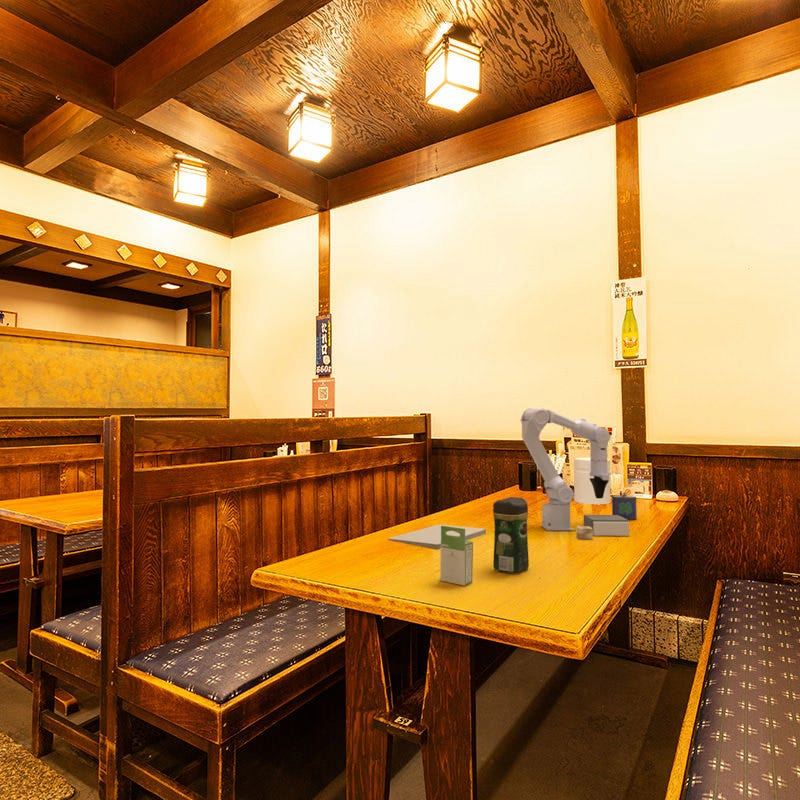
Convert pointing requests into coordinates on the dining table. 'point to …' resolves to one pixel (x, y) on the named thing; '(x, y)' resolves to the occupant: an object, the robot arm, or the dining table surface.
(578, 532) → the pedestal
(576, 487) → the canister
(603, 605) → the dining table surface
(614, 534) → the tray
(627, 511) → the flask
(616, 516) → the block
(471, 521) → the dining table surface
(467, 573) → the ink box
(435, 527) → the electronic device
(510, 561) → the coffee jar
